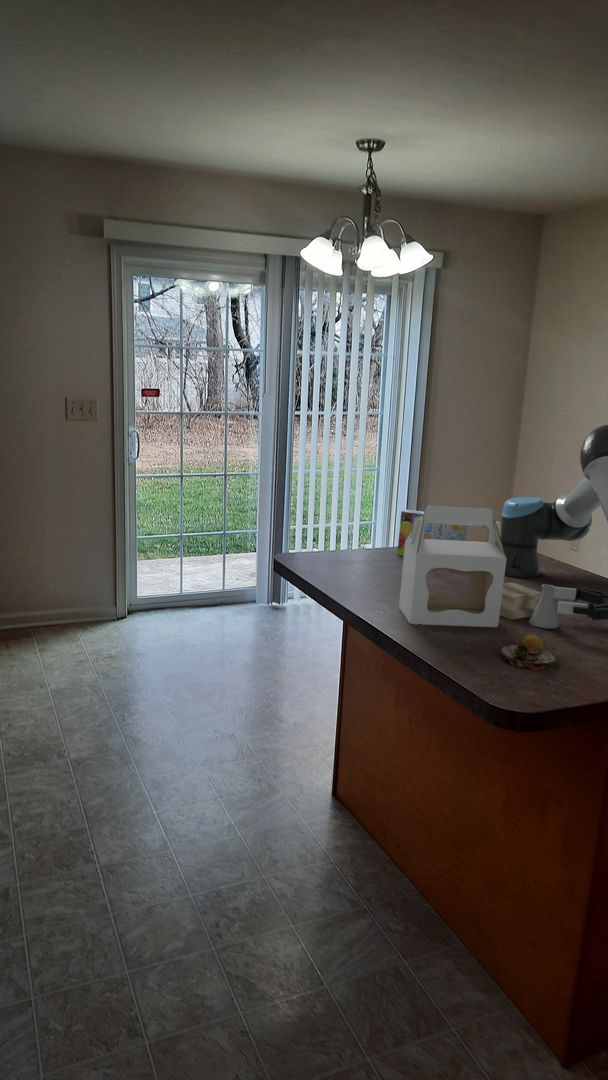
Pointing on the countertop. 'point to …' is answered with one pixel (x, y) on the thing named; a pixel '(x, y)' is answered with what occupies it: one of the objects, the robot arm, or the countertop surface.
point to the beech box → (518, 601)
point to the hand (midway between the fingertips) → (553, 599)
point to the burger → (528, 654)
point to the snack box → (428, 530)
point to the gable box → (459, 556)
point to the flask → (545, 610)
